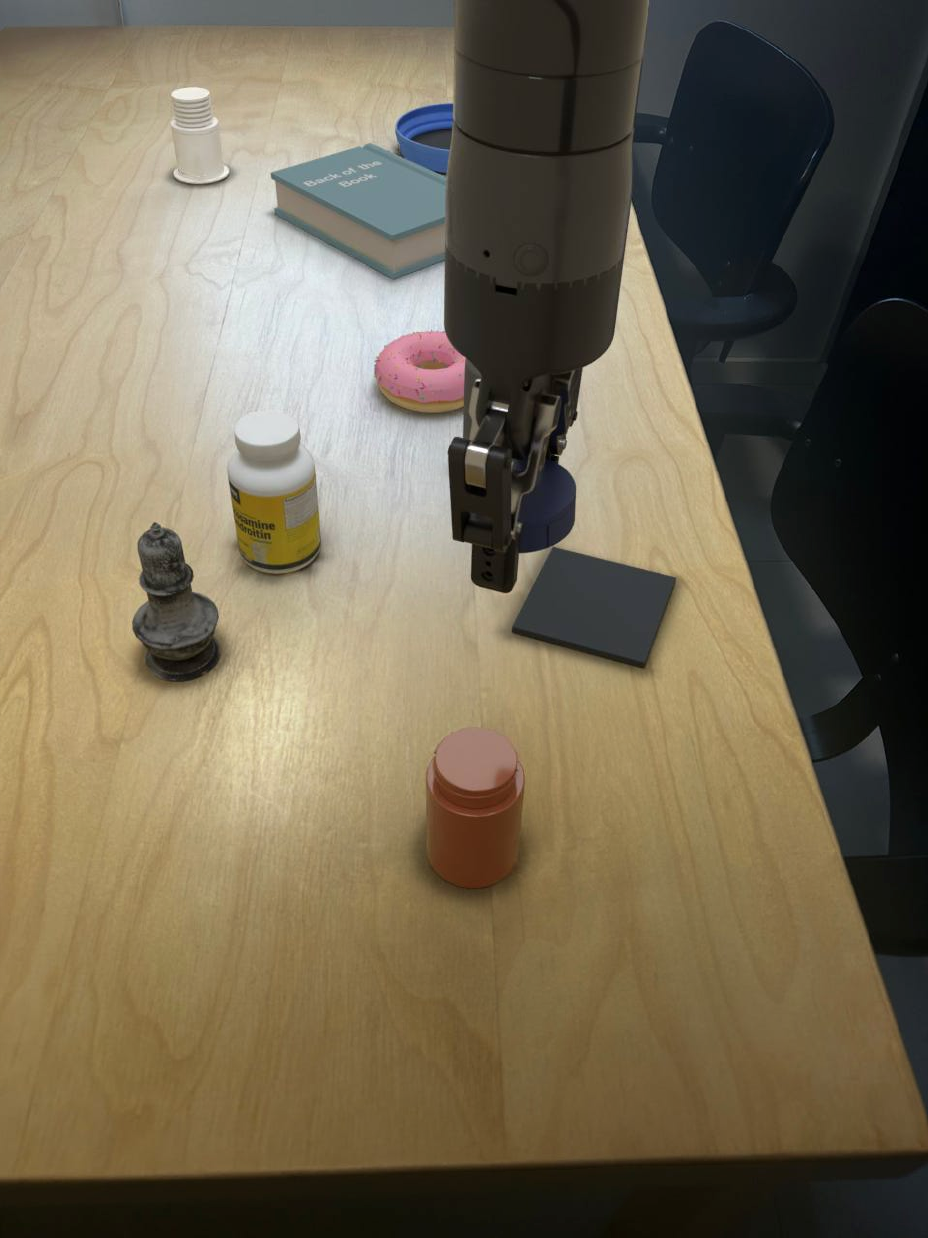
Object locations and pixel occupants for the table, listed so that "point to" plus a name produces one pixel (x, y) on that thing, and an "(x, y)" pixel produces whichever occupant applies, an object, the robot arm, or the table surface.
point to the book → (368, 207)
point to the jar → (474, 807)
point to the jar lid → (547, 508)
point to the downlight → (196, 137)
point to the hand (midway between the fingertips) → (513, 546)
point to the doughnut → (422, 372)
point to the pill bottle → (274, 493)
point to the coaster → (596, 606)
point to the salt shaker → (173, 611)
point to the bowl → (426, 135)
